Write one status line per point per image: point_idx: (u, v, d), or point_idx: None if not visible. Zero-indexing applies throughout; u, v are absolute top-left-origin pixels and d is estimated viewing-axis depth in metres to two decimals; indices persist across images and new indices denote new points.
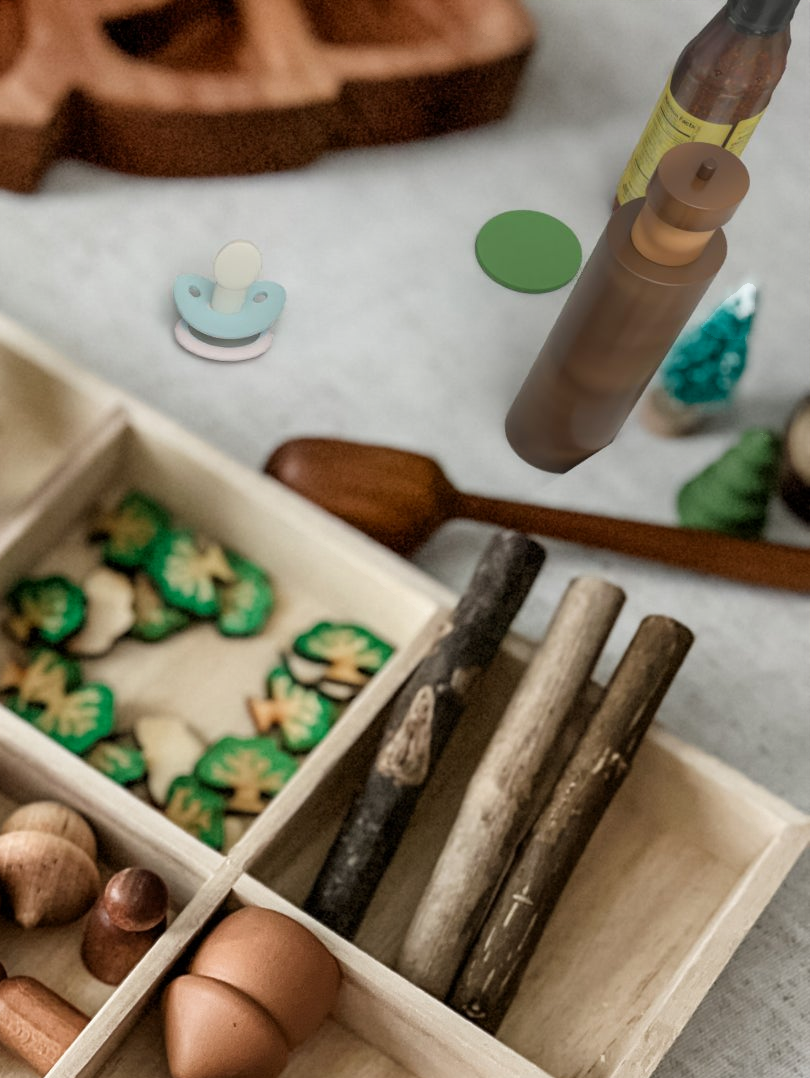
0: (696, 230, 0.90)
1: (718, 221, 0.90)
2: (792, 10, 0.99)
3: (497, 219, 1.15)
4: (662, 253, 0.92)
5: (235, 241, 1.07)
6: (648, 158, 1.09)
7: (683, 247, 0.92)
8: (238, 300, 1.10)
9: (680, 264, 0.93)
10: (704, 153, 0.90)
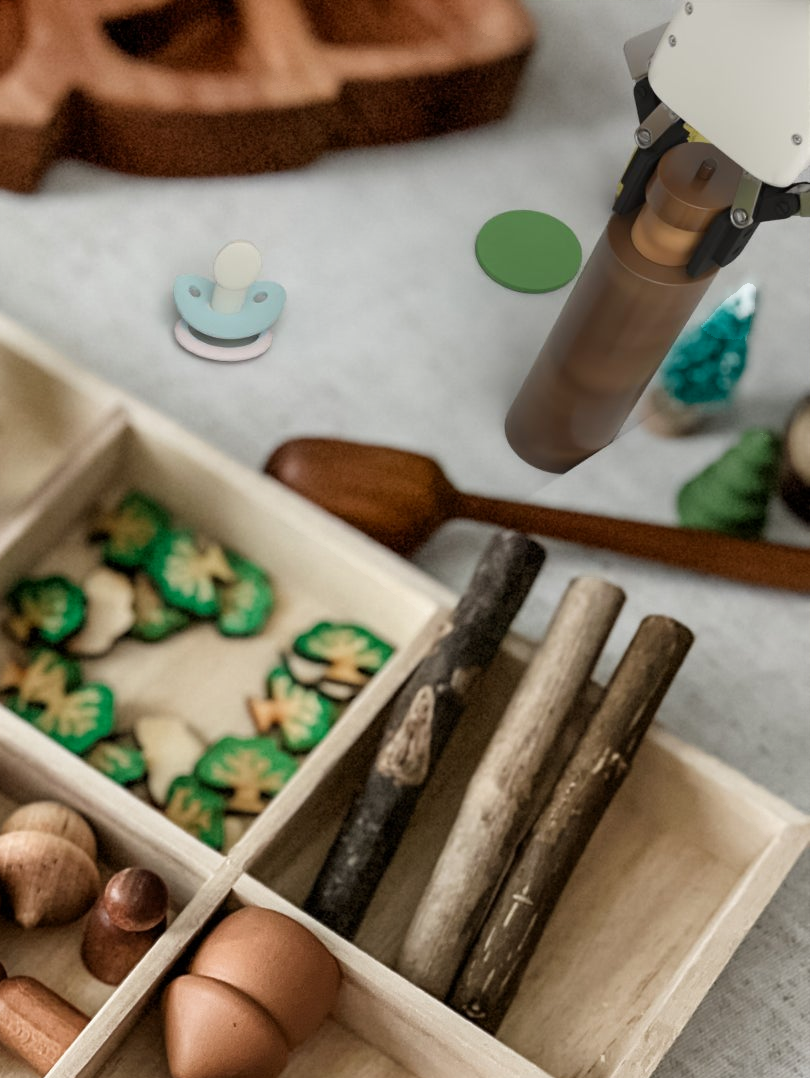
0: (696, 230, 0.90)
1: None
2: None
3: (497, 219, 1.15)
4: (662, 253, 0.92)
5: (235, 241, 1.07)
6: None
7: (683, 247, 0.92)
8: (238, 300, 1.10)
9: (680, 264, 0.93)
10: (704, 153, 0.90)
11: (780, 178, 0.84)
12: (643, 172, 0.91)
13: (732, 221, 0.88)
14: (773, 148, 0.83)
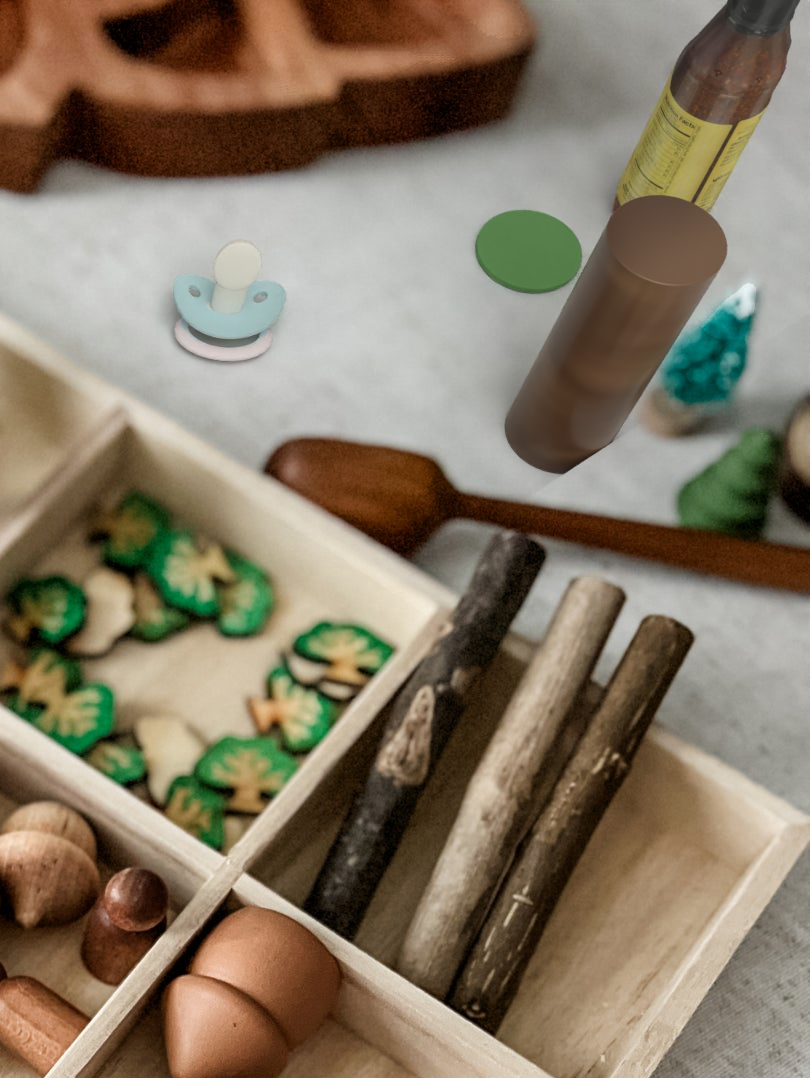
0: None
1: None
2: (792, 10, 0.99)
3: (497, 219, 1.15)
4: None
5: (235, 241, 1.07)
6: (648, 158, 1.09)
7: None
8: (238, 300, 1.10)
9: None
10: None
11: None
12: None
13: None
14: None
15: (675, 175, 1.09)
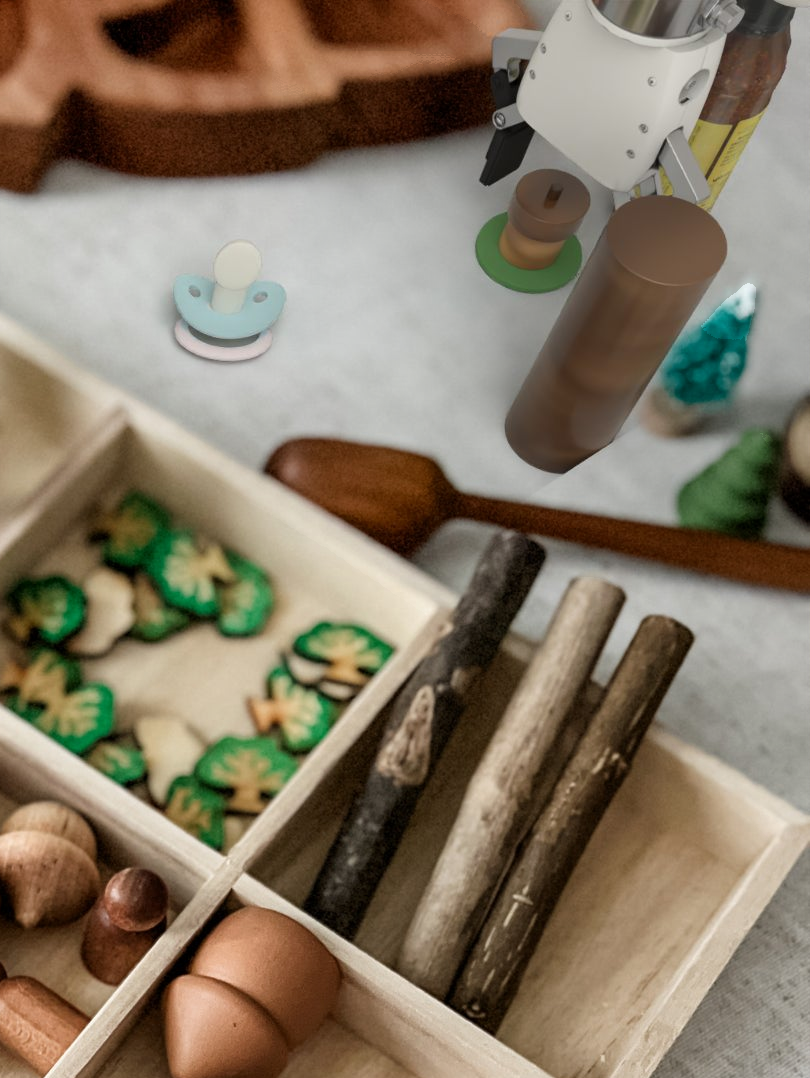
0: (547, 241, 1.10)
1: (565, 233, 1.10)
2: (792, 10, 0.99)
3: (497, 219, 1.15)
4: (522, 259, 1.12)
5: (235, 241, 1.07)
6: None
7: (539, 255, 1.12)
8: (238, 300, 1.10)
9: (538, 269, 1.13)
10: (554, 178, 1.10)
11: (621, 185, 1.03)
12: (501, 149, 1.09)
13: None
14: (614, 161, 1.02)
15: None
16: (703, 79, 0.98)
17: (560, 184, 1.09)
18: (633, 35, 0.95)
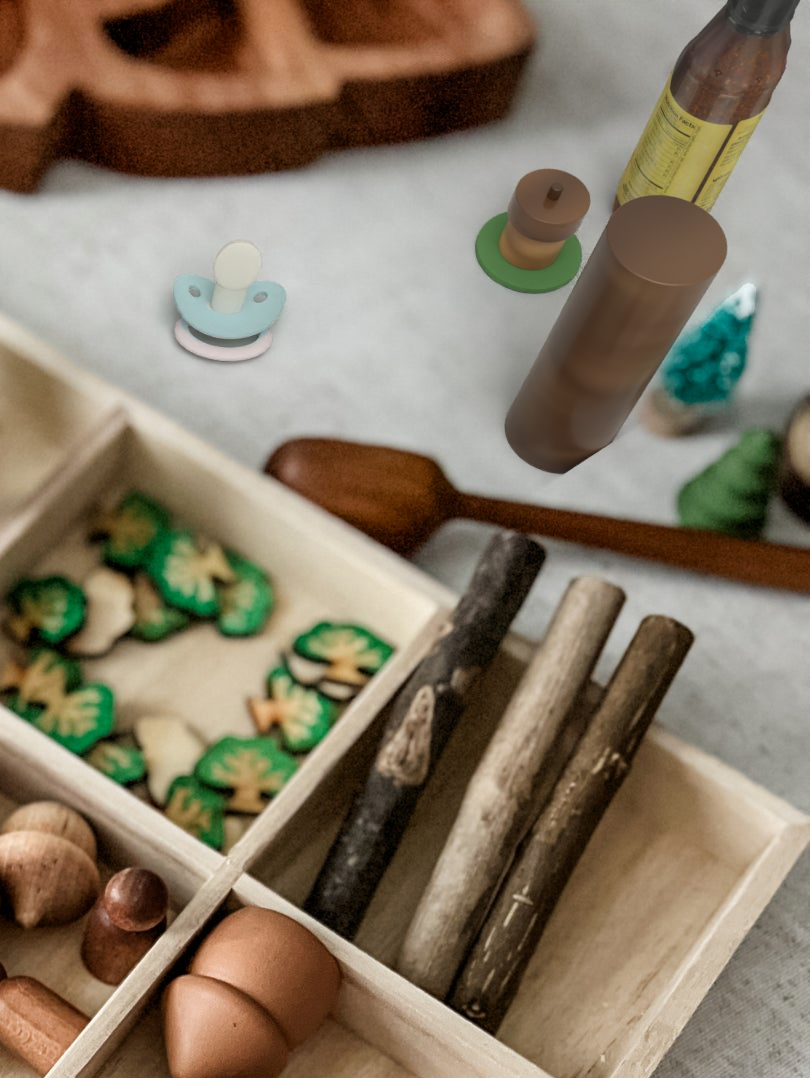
0: (547, 241, 1.10)
1: (565, 233, 1.10)
2: (792, 10, 0.99)
3: (497, 219, 1.15)
4: (522, 259, 1.12)
5: (235, 241, 1.07)
6: (648, 158, 1.09)
7: (539, 255, 1.12)
8: (238, 300, 1.10)
9: (538, 269, 1.13)
10: (554, 178, 1.10)
11: None
12: None
13: None
14: None
15: (675, 175, 1.09)
16: None
17: (560, 184, 1.09)
18: None
